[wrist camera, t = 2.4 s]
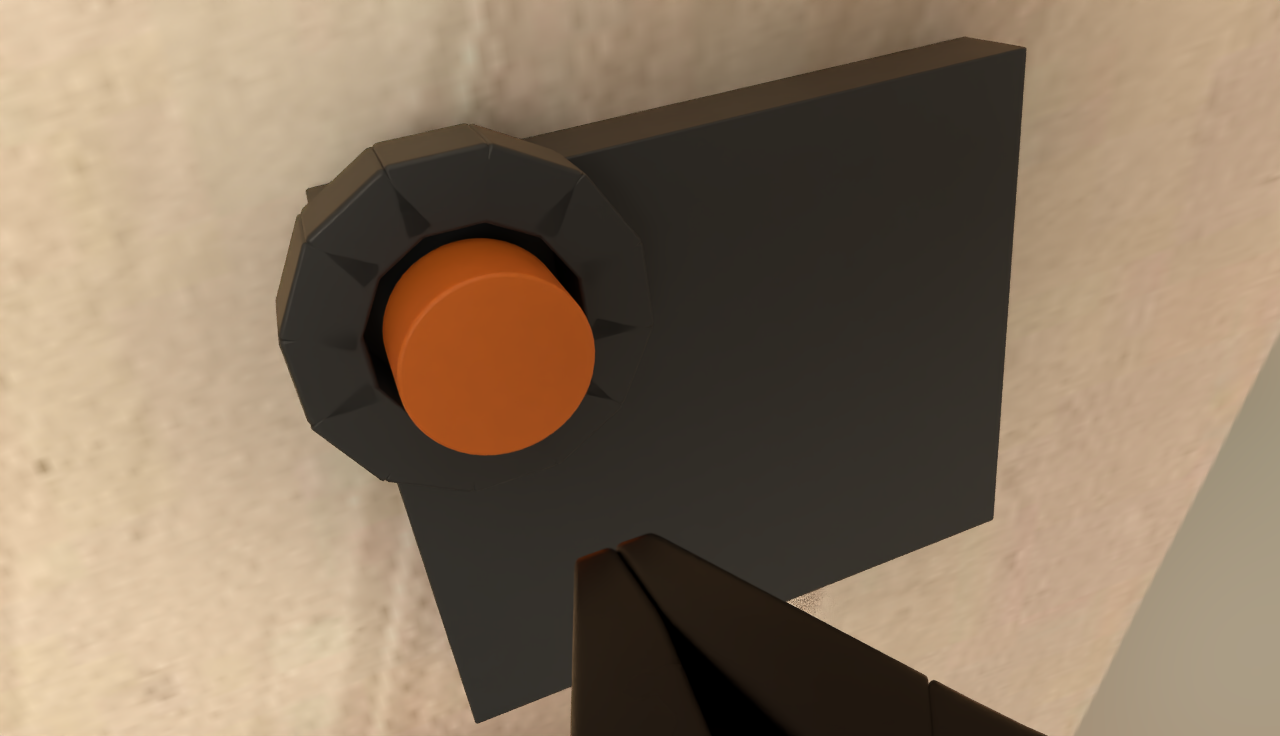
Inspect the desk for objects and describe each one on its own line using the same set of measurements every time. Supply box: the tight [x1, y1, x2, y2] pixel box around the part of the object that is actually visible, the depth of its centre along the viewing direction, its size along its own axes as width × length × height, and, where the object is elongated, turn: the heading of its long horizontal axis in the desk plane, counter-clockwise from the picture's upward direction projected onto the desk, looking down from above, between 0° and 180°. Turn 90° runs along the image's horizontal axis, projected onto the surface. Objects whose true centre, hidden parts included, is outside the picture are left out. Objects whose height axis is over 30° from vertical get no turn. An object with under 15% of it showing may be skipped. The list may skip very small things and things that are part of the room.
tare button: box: [383, 238, 595, 455], centre depth 14 cm, size 3×3×2 cm
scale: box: [276, 37, 1027, 723], centre depth 19 cm, size 15×13×4 cm
